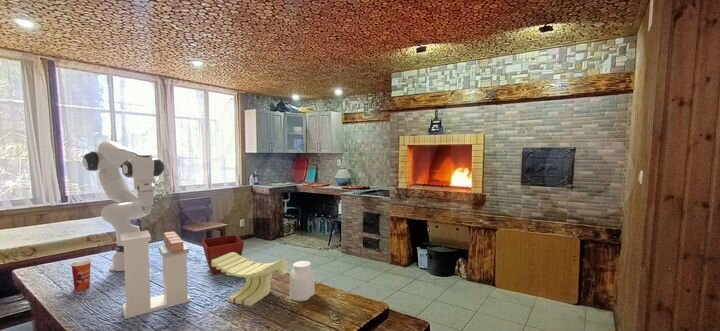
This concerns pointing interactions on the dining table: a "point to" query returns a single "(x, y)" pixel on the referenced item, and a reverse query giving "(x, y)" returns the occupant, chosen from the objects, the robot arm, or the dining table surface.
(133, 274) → the stand
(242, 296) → the slatted curved stool
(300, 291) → the jar
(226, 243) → the plant pot
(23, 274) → the dining table surface
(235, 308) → the dining table surface
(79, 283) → the paper cup
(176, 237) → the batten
